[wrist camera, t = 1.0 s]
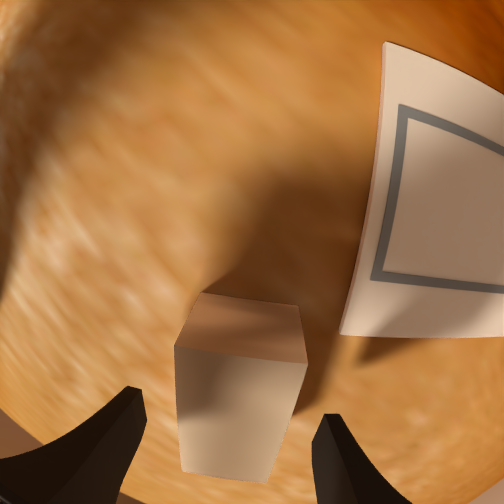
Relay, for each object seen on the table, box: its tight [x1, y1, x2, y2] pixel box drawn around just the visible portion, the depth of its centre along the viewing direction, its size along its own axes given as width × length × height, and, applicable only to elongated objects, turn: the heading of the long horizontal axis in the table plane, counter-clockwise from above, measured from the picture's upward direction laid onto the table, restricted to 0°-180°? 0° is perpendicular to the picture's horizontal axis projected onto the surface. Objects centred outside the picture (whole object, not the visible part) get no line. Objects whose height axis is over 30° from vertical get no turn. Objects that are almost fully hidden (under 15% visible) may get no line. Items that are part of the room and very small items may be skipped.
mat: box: [339, 42, 504, 338], centre depth 10 cm, size 12×12×1 cm
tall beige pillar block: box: [174, 292, 308, 483], centre depth 11 cm, size 4×8×4 cm, turn 173°
